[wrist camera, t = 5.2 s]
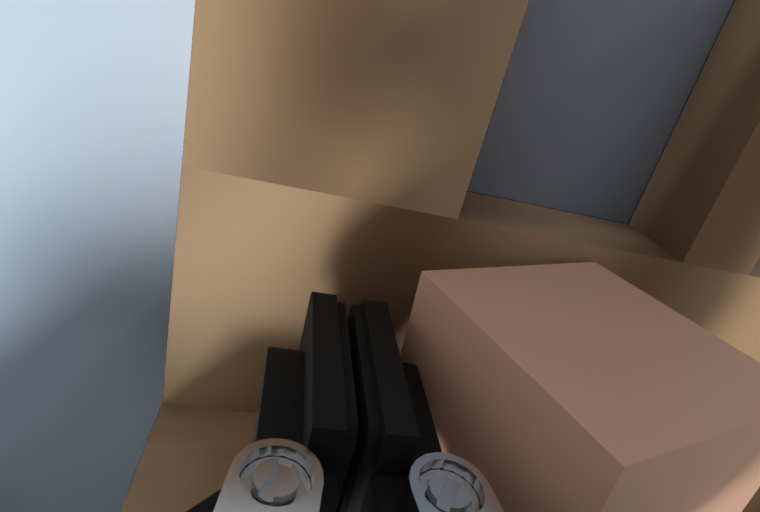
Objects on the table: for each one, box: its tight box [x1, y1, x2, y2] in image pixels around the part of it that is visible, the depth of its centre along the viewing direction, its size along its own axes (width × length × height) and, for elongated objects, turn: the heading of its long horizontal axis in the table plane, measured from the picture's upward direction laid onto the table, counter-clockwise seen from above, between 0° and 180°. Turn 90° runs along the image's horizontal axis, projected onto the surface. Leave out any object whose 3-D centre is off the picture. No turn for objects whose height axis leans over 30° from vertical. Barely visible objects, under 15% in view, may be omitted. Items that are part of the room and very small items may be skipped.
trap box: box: [120, 0, 760, 512], centre depth 13 cm, size 24×14×6 cm, turn 76°
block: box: [400, 262, 760, 512], centre depth 10 cm, size 5×5×5 cm
